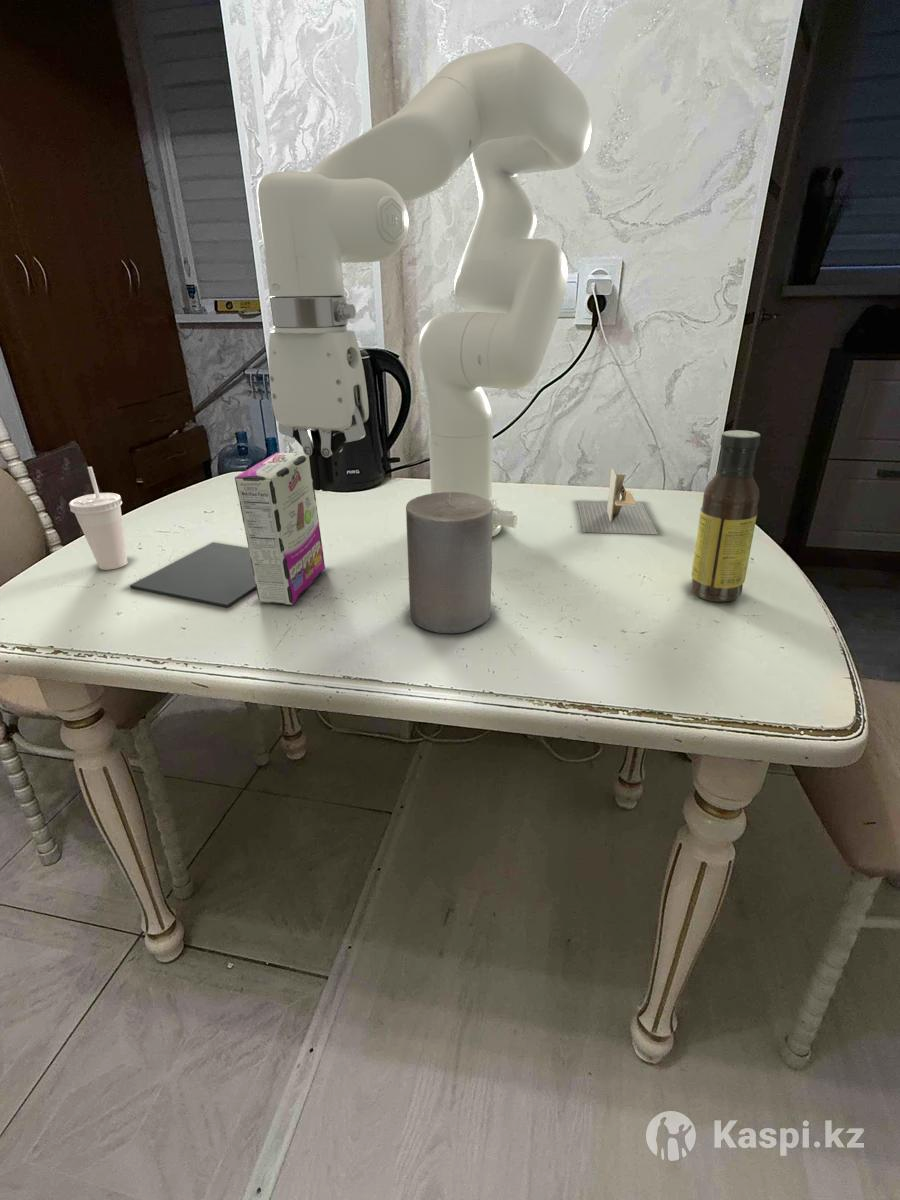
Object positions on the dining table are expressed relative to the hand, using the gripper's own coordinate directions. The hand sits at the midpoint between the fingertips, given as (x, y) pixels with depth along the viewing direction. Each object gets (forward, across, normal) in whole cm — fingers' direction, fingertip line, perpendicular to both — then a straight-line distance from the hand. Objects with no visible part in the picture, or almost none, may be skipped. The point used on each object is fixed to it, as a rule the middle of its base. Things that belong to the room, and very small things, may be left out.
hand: (327, 487), depth 73 cm
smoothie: (+14, +36, +3) cm, 38 cm away
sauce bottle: (+14, -44, -17) cm, 50 cm away
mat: (+14, +19, 0) cm, 24 cm away
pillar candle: (+14, -15, 0) cm, 21 cm away
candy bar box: (+14, +7, 0) cm, 16 cm away
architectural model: (+14, -28, -41) cm, 52 cm away
